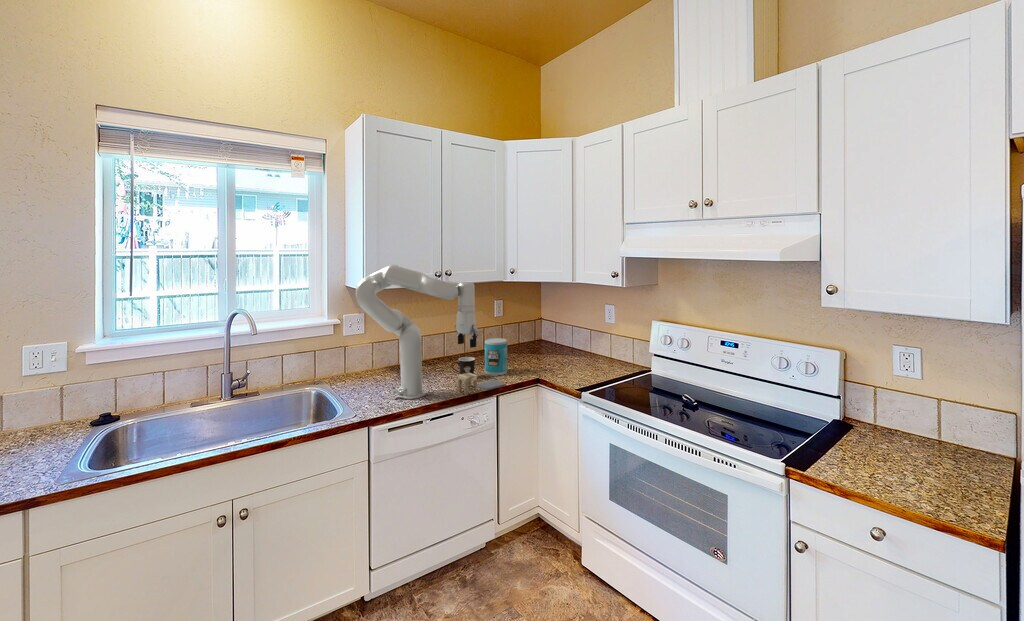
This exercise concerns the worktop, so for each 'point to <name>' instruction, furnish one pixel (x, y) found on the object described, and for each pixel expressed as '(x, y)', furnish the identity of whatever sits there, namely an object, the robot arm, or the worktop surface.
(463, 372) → the coffee mug
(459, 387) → the wooden u-shaped block
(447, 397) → the worktop surface
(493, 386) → the mat
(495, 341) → the food can
